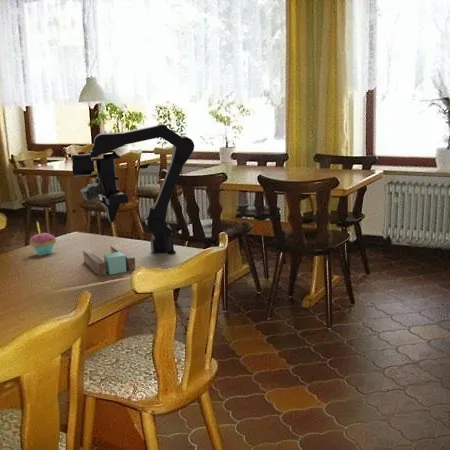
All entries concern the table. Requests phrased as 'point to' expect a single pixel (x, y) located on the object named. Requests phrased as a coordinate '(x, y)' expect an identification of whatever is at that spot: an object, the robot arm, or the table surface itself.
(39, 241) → the cupcake
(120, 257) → the teal block
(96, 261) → the chute
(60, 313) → the table surface
